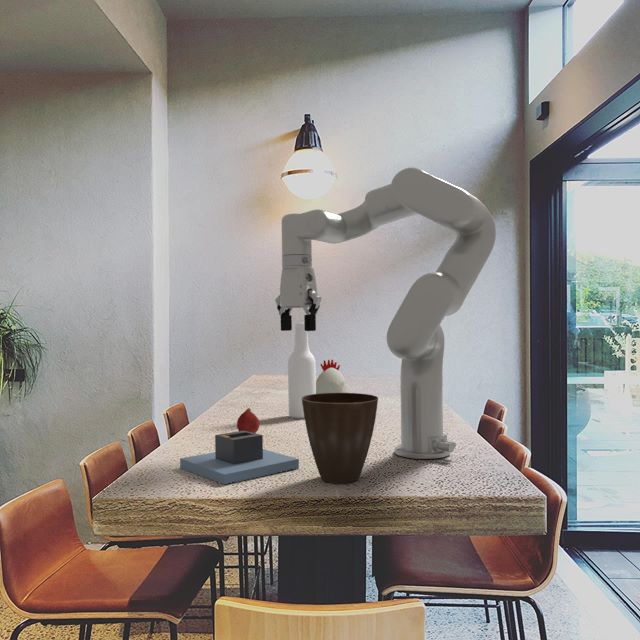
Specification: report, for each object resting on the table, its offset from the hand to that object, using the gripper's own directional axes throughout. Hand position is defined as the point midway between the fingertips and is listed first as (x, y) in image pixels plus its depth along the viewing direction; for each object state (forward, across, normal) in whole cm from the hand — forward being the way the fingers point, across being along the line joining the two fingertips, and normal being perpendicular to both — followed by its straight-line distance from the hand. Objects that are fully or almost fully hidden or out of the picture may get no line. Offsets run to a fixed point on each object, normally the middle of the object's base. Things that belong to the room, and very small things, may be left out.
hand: (298, 330), depth 154 cm
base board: (+28, -12, +26) cm, 40 cm away
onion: (+28, +13, +7) cm, 32 cm away
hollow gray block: (+26, -12, +26) cm, 39 cm away
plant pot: (+28, -33, +16) cm, 46 cm away
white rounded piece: (+29, +57, -61) cm, 88 cm away
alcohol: (+28, +30, -25) cm, 49 cm away
